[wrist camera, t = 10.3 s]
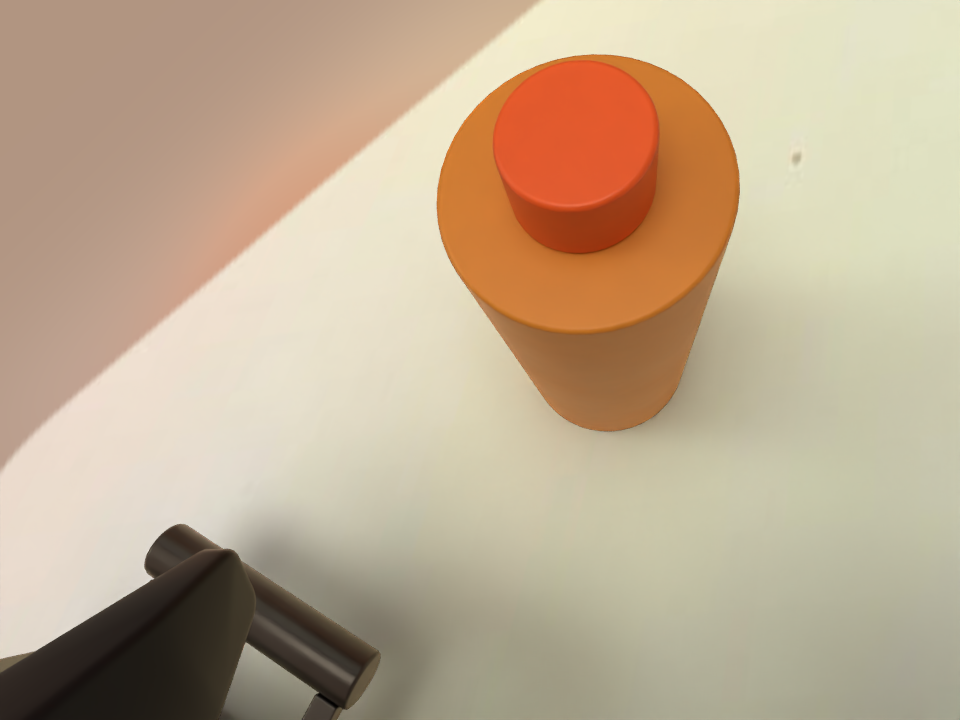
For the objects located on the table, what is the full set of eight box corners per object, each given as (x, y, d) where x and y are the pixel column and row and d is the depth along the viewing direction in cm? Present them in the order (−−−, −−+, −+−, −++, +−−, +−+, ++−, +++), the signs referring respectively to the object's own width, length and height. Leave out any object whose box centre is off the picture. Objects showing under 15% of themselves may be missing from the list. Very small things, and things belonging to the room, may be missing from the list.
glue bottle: (709, 323, 20) (822, 40, 8) (641, 458, 20) (657, 362, 8) (573, 263, 21) (503, -61, 10) (507, 390, 21) (344, 216, 9)
